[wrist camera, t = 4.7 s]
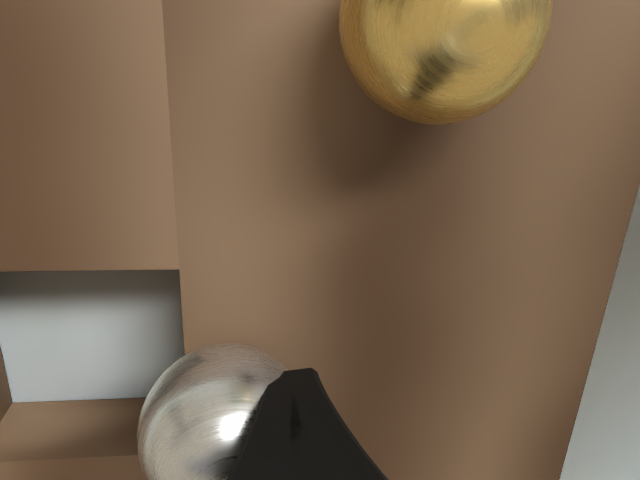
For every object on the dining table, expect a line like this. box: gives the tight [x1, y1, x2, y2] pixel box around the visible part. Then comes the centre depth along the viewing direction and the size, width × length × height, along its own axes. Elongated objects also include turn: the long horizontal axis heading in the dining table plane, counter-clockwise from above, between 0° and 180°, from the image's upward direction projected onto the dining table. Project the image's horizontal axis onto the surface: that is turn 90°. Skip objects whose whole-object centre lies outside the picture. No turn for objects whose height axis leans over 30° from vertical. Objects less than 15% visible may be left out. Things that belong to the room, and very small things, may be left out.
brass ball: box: [339, 0, 552, 125], centre depth 8 cm, size 3×3×3 cm
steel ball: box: [137, 343, 288, 480], centre depth 10 cm, size 3×3×3 cm
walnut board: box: [0, 0, 640, 480], centre depth 13 cm, size 16×18×2 cm
